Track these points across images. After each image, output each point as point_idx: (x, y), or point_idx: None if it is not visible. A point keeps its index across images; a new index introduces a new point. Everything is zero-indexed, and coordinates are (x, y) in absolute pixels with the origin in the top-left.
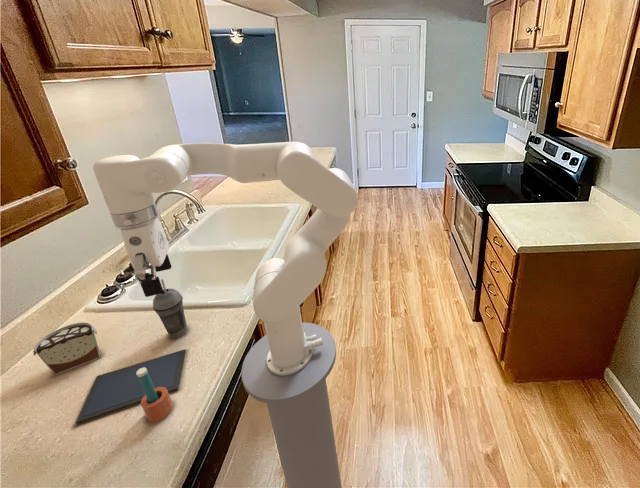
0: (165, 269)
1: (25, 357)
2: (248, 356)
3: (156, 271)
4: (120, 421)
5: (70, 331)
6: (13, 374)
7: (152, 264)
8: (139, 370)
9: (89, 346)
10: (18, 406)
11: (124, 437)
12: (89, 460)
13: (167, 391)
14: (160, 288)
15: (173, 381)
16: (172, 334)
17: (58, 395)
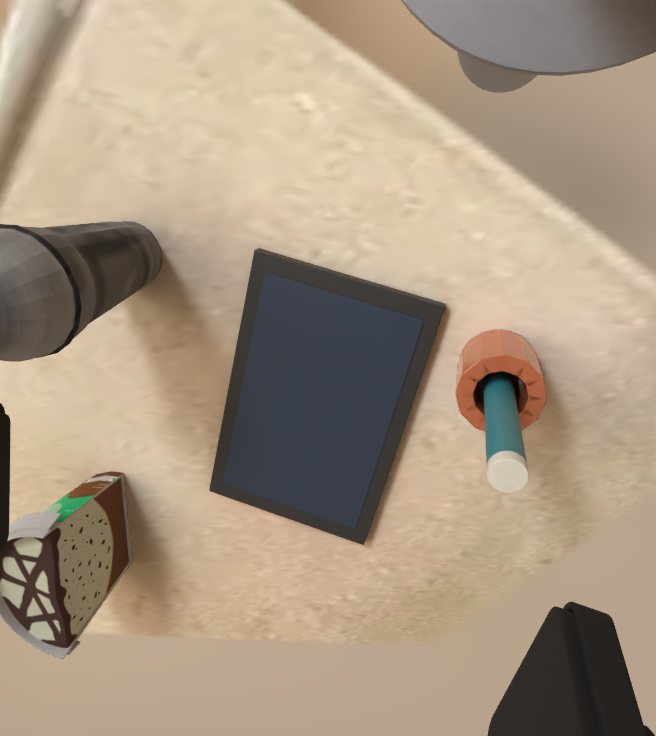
0: (2, 462)
1: None
2: (432, 11)
3: (2, 546)
4: (441, 458)
5: (17, 577)
6: None
7: None
8: (499, 481)
9: (90, 515)
10: (201, 621)
11: None
12: (521, 528)
13: (506, 353)
14: (619, 685)
15: (402, 313)
16: (148, 280)
17: (219, 560)
